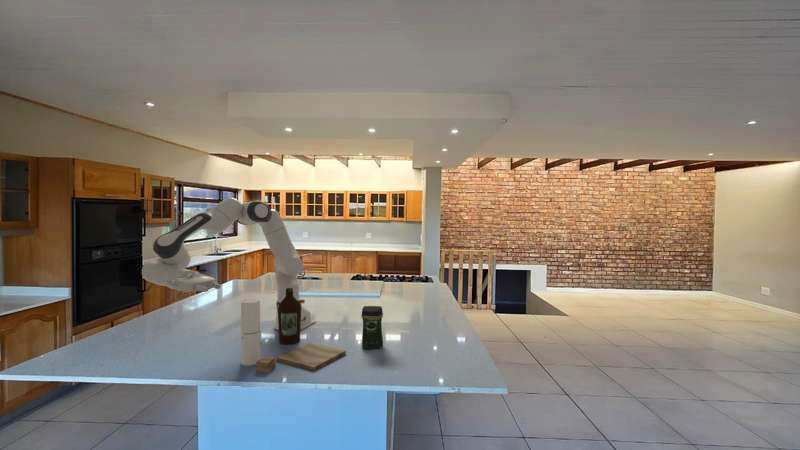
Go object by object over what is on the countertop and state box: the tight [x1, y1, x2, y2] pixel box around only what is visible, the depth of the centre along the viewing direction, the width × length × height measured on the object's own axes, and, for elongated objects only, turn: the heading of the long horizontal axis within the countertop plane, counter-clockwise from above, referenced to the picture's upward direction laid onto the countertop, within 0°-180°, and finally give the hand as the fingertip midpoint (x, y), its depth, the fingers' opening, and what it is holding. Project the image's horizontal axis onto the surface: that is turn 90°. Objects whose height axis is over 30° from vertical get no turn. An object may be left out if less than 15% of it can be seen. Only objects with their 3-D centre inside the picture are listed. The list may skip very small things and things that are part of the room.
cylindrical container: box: [240, 298, 261, 367], centre depth 154 cm, size 7×7×25 cm
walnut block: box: [255, 356, 277, 374], centre depth 147 cm, size 5×5×4 cm
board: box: [276, 342, 347, 372], centre depth 159 cm, size 20×20×2 cm
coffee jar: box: [360, 305, 384, 350], centre depth 172 cm, size 10×8×19 cm
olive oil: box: [278, 288, 302, 345], centre depth 179 cm, size 11×11×25 cm
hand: (213, 288), depth 154 cm, fingers open, 8 cm apart
